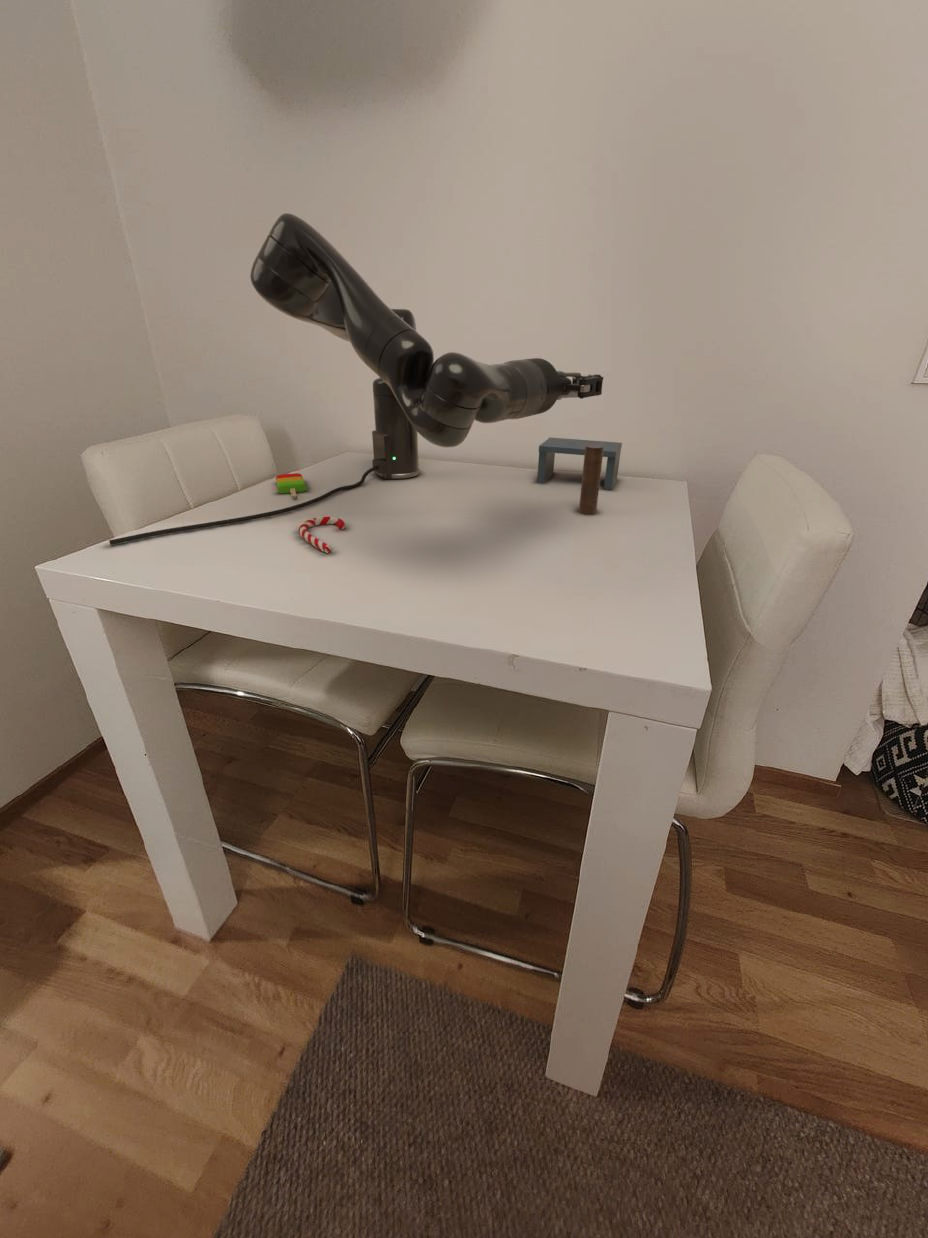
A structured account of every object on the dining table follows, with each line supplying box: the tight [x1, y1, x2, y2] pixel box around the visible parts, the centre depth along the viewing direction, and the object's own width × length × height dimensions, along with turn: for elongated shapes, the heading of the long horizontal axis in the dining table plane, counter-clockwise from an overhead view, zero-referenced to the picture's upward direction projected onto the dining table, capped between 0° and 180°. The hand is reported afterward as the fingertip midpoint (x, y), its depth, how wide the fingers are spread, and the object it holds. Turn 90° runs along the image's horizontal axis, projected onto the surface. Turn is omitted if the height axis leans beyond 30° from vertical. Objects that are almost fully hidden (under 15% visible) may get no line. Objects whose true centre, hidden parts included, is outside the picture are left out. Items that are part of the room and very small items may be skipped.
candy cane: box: [298, 516, 346, 554], centre depth 93 cm, size 8×1×15 cm
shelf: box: [536, 437, 623, 491], centre depth 124 cm, size 10×16×8 cm, turn 69°
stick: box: [578, 444, 604, 516], centre depth 103 cm, size 3×3×12 cm
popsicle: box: [275, 472, 307, 498], centre depth 117 cm, size 6×15×2 cm, turn 19°
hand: (573, 380), depth 91 cm, fingers open, 8 cm apart
